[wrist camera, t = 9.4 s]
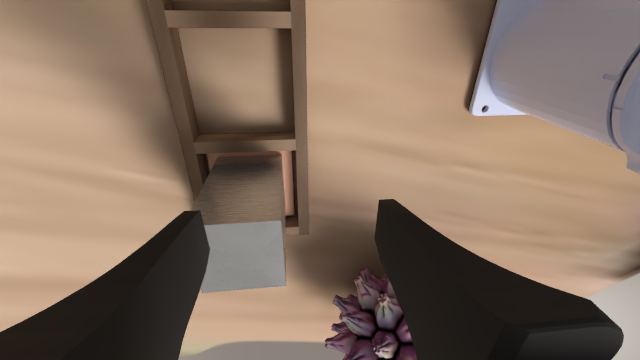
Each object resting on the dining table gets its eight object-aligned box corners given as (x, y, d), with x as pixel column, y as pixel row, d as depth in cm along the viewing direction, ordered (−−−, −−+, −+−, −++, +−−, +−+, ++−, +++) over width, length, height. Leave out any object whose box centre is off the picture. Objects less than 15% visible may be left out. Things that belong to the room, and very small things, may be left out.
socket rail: (300, -171, 13) (302, -191, 12) (307, 222, 25) (308, 234, 23) (114, -184, 13) (95, -207, 11) (208, 228, 24) (204, 240, 23)
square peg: (282, 154, 21) (280, 220, 14) (285, 206, 23) (285, 285, 16) (217, 156, 21) (183, 226, 14) (227, 209, 23) (202, 292, 16)
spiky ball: (316, 240, 26) (338, 389, 15) (444, 230, 27) (544, 362, 17) (318, 322, 31) (334, 470, 21) (423, 311, 32) (489, 447, 22)
